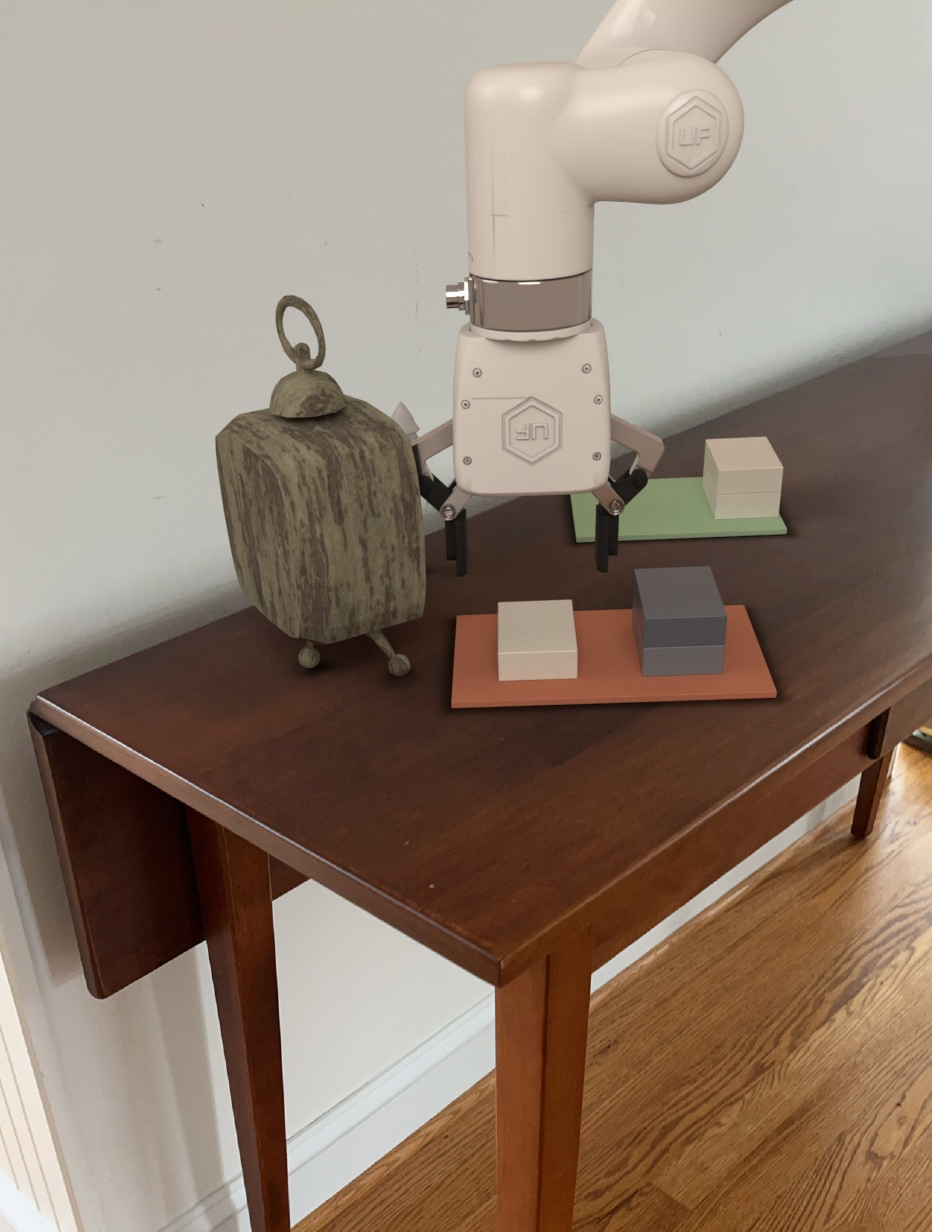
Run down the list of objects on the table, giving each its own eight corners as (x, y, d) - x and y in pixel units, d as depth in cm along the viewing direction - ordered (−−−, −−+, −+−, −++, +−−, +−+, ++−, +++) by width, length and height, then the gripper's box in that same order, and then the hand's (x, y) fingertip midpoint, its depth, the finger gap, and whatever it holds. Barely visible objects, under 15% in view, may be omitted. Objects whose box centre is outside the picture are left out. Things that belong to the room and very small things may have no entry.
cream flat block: (571, 626, 94) (571, 598, 92) (577, 679, 87) (577, 650, 86) (498, 628, 94) (497, 601, 93) (498, 681, 87) (497, 653, 86)
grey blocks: (706, 621, 93) (710, 565, 91) (722, 674, 86) (727, 615, 84) (631, 624, 93) (633, 568, 91) (642, 676, 87) (645, 618, 84)
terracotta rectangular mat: (743, 610, 95) (744, 604, 95) (776, 698, 84) (777, 691, 84) (457, 621, 97) (456, 615, 97) (451, 708, 86) (451, 701, 85)
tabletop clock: (434, 680, 89) (408, 304, 74) (320, 716, 86) (269, 330, 71) (345, 611, 99) (307, 269, 85) (240, 641, 96) (182, 291, 81)
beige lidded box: (762, 483, 116) (766, 436, 113) (778, 517, 109) (783, 466, 106) (702, 486, 116) (705, 438, 114) (715, 519, 109) (718, 469, 107)
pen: (392, 570, 106) (378, 400, 97) (421, 563, 106) (410, 394, 98) (404, 580, 104) (390, 407, 96) (433, 573, 105) (422, 401, 96)
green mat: (759, 479, 118) (759, 474, 118) (786, 534, 107) (787, 528, 107) (569, 487, 120) (569, 482, 119) (576, 542, 108) (576, 537, 108)
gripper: (386, 321, 74) (404, 592, 84) (679, 310, 73) (662, 585, 83) (394, 294, 80) (410, 550, 90) (666, 283, 79) (651, 543, 89)
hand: (531, 567), depth 87 cm, fingers open, 9 cm apart
